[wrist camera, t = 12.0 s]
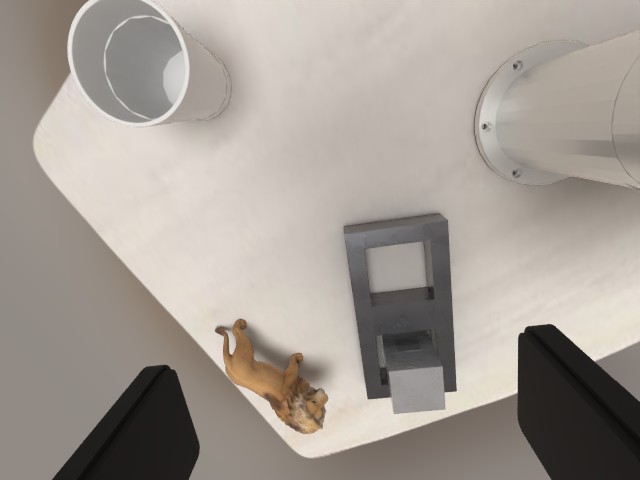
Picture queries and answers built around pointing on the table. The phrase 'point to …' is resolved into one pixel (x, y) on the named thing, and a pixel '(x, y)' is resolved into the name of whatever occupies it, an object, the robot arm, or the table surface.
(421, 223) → the rail
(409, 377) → the block
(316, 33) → the table surface
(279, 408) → the lion figurine
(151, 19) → the cup
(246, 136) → the table surface
